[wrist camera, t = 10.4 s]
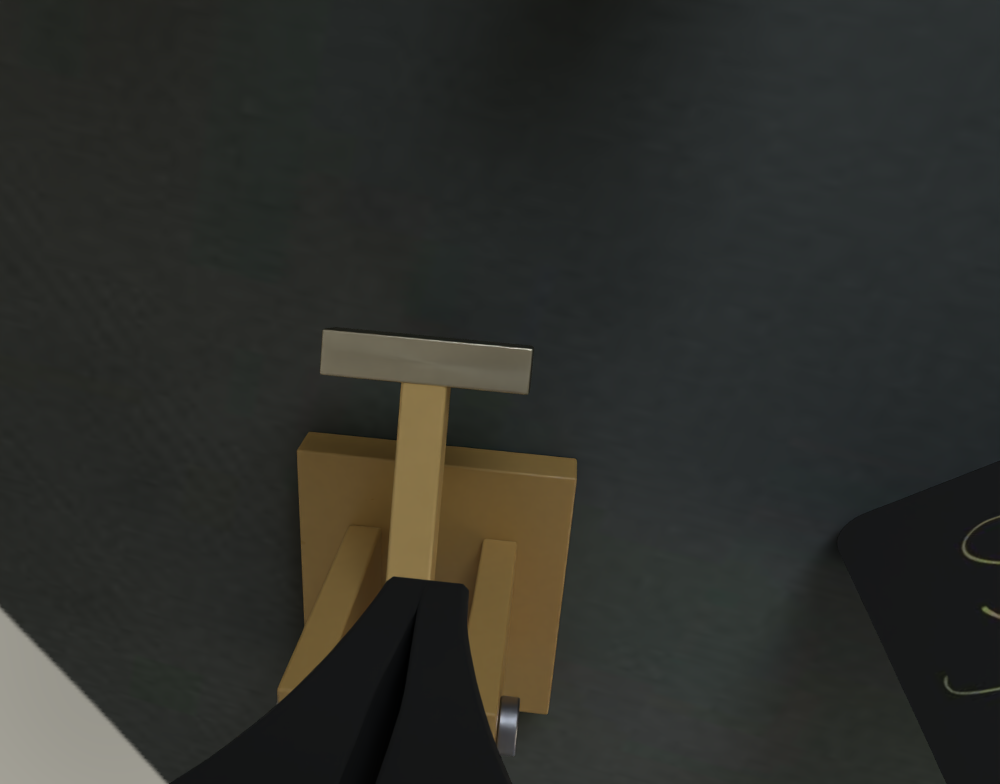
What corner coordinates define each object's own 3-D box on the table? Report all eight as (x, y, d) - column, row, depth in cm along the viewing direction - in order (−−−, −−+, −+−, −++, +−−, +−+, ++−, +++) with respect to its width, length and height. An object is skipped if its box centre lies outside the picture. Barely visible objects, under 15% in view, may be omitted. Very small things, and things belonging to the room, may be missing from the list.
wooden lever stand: (308, 430, 25) (201, 600, 18) (577, 457, 25) (575, 642, 18) (316, 661, 29) (231, 876, 22) (549, 688, 28) (538, 915, 21)
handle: (340, 325, 22) (314, 329, 19) (534, 344, 21) (532, 350, 19) (312, 729, 23) (284, 779, 20) (495, 751, 23) (489, 804, 20)
